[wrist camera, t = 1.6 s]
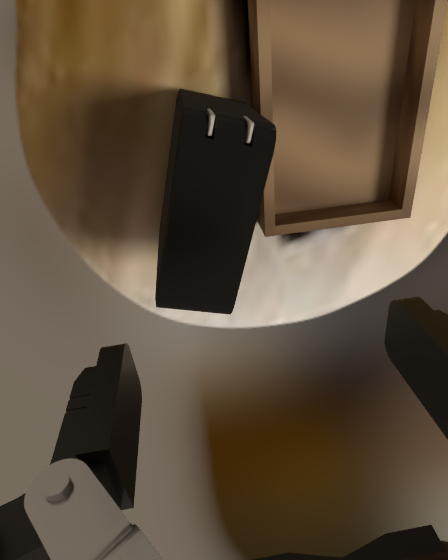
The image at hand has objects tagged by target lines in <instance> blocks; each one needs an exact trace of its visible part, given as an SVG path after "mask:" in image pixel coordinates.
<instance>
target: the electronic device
mask: <svg viewBox="0 0 448 560" xmlns="http://www.w3.org/2000/svg"><path fill="white" fill-rule="evenodd" d="M276 131H277V130H276V127H275V125H274V124H273V123H272V122H270V121H269V120H267V119H266V118H265V117H263V116H262V115H261V114H259V113H258V112H257V111H255V110H254V109H253V108H251V107H250V106H249V105H247V104H246V103H245V102H240V101H235V100H231V99H226V98H221V97H217V96H212V95H207V94H203V93H198V92H193V91H188V90H184V89H180V90H179V93H178V95H177V100H176V108H175V115H174V123H173V131H172V139H171V146H170V154H169V162H168V169H167V177H166V185H165V192H164V200H163V208H162V216H161V223H160V232H159V246H158V263H157V280H156V297H155V300H156V307H160V308H171V309H181V310H191V311H201V312H212V313H222V314H231V313H232V311H233V308H234V305H235V301H236V297H237V293H238V289H239V286H240V282H241V278H242V274H243V270H244V266H245V262H246V258H247V255H248V251H249V247H250V243H251V239H252V235H253V231H254V227H255V224H256V220H257V216H258V212H259V208H260V204H261V200H262V196H263V192H264V189H265V185H266V181H267V177H268V173H269V169H270V165H271V161H272V158H273V154H274V149H275V144H276Z"/></svg>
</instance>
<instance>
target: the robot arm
mask: <svg viewBox="0 0 448 560" xmlns="http://www.w3.org/2000/svg"><path fill="white" fill-rule="evenodd" d="M385 348H386V352H387V354H388V357H389V358H390V360H391V362H392V363H393V364H394V366H395V367H396V369H397V370H398V371H399V372H400V374H401V375H402V377H403V378H404V379H405V381H406V382H407V384H408V385H409V386H410V388H411V389H412V391H413V392H414V393H415V395H416V396H417V398H418V399H419V400H420V402H421V403H422V405H423V406H424V407H425V409H426V410H427V411H428V413H429V414H430V416H431V417H432V418H433V420H434V421H435V423H436V424H437V425H438V427H439V428H440V429H441V431H442V432H443V434H444V435H445V436H446V438H447V439H448V315H447V314H446V313H444V312H442V311H440V310H435V311H434V310H433V309H432V308H430V306H429V305H428V304H427V303H426V302H424V301H423V300H422V299H421V298H420V297H411V298H404V299H398V300H393V301H391V303H390V305H389V311H388V319H387V327H386V334H385ZM141 405H142V392H141V385H140V381H139V377H138V374H137V371H136V367H135V364H134V361H133V358H132V354H131V351H130V348H129V346H128V344H120V345H114V346H109V347H102V348H101V349H100V352H99V358H98V361H97V365H96V366H94V367H88V368H85V369H84V370H83V371H82V373H81V374H80V375H79V376H78V378H77V379H76V380H75V382H74V384H73V388H72V391H71V394H70V400H69V401H68V405H67V408H66V413H65V415H64V419H63V422H62V426H61V429H60V432H59V436H58V439H57V443H56V446H55V450H54V453H53V457H52V460H51V463H50V465H49V466H47V467H46V468H45V469H43V470H42V471H41V472H40V473H39V474H38V475H37V476H36V477H35V478H34V479H33V481H32V482H31V484H30V485H29V487H28V489H27V491H26V493H25V494H23V495H22V496H20V497H18V498H16V499H15V500H12V501H10V502H8V503H6V504H4V505H2V506H0V560H164V559H163V558H162V557H161V555H160V554H159V553H158V551H157V550H156V549H155V547H154V546H153V545H152V544H151V542H150V541H149V540H148V538H147V537H146V536H145V535H144V533H143V532H142V531H141V530H140V528H139V527H138V526H137V525H135V524H134V525H132V524H131V523H130V522H129V520H128V519H127V518H126V516H125V515H124V514H123V513H122V511H121V510H124V509H129V508H133V507H134V495H135V482H136V469H137V457H138V444H139V431H140V418H141ZM253 560H448V542H446V541H440V539H439V538H438V536H437V534H436V532H435V530H434V529H433V527H432V525H428V526H423V527H418V528H413V529H407V530H403V531H397V532H392V533H387V534H384V535H382V536H380V537H379V538H377V539H375V540H373V541H372V542H370V543H368V544H366V545H364V546H363V547H361V548H359V549H357V550H356V551H354V552H352V553H350V554H348V555H347V556H344V557H326V556H317V555H307V554H297V553H284V554H279V555H273V556H268V557H263V558H259V559H253Z"/></svg>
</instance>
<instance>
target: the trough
mask: <svg viewBox="0 0 448 560" xmlns="http://www.w3.org/2000/svg"><path fill="white" fill-rule="evenodd" d="M447 1H448V0H248V15H249V37H250V58H251V80H252V101H253V109H254V110H255V111H257V112H258V113H259V114H261V115H262V116H263V117H265V118H266V119H267V120H269V121H270V122H272V123H273V124H274V125H275V127H276V130H277V131H276V144H275V149H274V154H273V158H272V161H271V165H270V169H269V173H268V177H267V181H266V185H265V189H264V192H263V196H262V200H261V204H260V208H259V212H258V223H259V225H260V227H261V229H262V231H263V233H264V235H265V237H267V236H275V235H282V234H290V233H297V232H305V231H312V230H320V229H327V228H335V227H342V226H350V225H357V224H365V223H372V222H380V221H387V220H395V219H402V218H410V216H411V210H412V204H413V199H414V193H415V187H416V181H417V175H418V170H419V164H420V158H421V152H422V146H423V141H424V135H425V129H426V123H427V117H428V112H429V106H430V100H431V94H432V88H433V83H434V77H435V71H436V65H437V59H438V54H439V48H440V42H441V36H442V30H443V24H444V19H445V13H446V7H447Z"/></svg>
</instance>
